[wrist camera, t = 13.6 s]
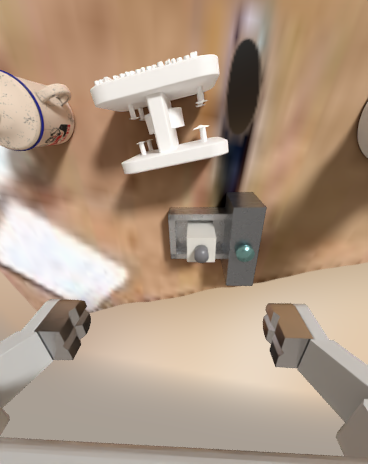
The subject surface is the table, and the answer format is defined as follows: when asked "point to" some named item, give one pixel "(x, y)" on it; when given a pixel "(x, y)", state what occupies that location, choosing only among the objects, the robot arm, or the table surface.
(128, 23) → the table surface
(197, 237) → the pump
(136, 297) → the table surface
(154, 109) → the cable organizer
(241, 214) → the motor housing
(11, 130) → the teacup with lid
